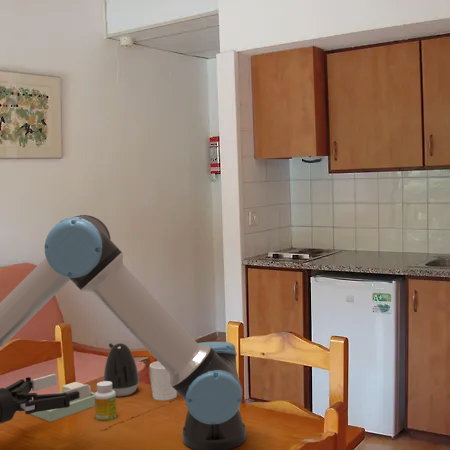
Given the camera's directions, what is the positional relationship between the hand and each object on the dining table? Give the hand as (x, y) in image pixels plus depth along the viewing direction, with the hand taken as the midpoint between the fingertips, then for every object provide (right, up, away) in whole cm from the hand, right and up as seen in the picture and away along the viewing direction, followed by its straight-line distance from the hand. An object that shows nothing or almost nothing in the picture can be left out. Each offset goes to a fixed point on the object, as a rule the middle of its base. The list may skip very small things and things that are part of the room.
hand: (71, 384), depth 157 cm
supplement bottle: (+7, -12, +8) cm, 16 cm away
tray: (-6, -11, +15) cm, 20 cm away
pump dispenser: (+8, -10, +27) cm, 30 cm away
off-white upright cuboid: (-3, -10, +19) cm, 21 cm away
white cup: (+21, -10, +22) cm, 32 cm away
